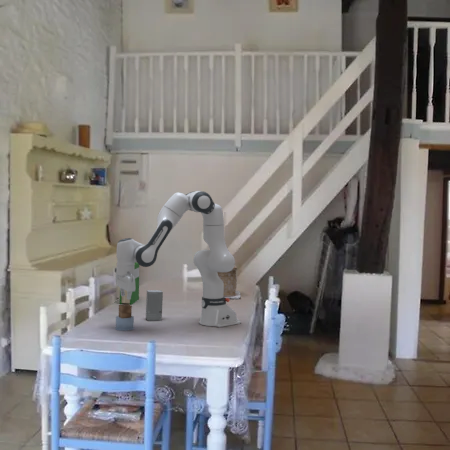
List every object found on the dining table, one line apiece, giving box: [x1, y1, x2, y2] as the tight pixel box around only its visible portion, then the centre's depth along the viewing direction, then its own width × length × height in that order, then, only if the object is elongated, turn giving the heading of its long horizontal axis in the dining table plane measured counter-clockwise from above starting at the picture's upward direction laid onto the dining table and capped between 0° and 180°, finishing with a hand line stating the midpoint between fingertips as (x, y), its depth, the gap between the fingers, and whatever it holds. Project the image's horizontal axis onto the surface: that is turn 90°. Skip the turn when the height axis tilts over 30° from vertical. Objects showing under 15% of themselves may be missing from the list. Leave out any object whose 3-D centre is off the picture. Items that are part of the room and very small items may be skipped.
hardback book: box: [119, 262, 140, 306], centre depth 343 cm, size 18×7×24 cm, turn 174°
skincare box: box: [145, 289, 164, 322], centre depth 296 cm, size 8×7×16 cm
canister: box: [114, 315, 135, 332], centre depth 274 cm, size 9×9×6 cm
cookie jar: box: [217, 265, 241, 300], centre depth 371 cm, size 25×25×32 cm
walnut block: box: [118, 303, 133, 318], centre depth 274 cm, size 5×5×6 cm
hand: (125, 297), depth 274 cm, fingers open, 8 cm apart
